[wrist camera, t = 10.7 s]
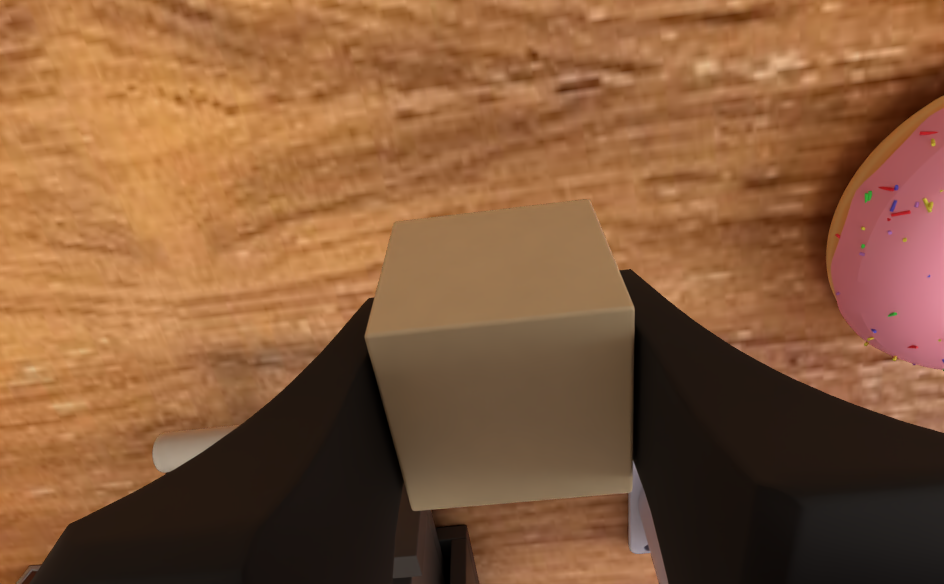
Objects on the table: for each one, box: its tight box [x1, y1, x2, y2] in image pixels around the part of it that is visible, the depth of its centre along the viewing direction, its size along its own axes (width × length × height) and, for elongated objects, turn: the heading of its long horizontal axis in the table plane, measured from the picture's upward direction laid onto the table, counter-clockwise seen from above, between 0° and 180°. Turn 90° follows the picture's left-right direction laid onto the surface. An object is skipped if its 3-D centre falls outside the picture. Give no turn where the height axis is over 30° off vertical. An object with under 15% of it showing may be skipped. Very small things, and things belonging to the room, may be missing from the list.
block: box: [365, 199, 635, 511], centre depth 12 cm, size 4×4×4 cm
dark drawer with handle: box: [152, 425, 450, 584], centre depth 26 cm, size 17×11×6 cm
